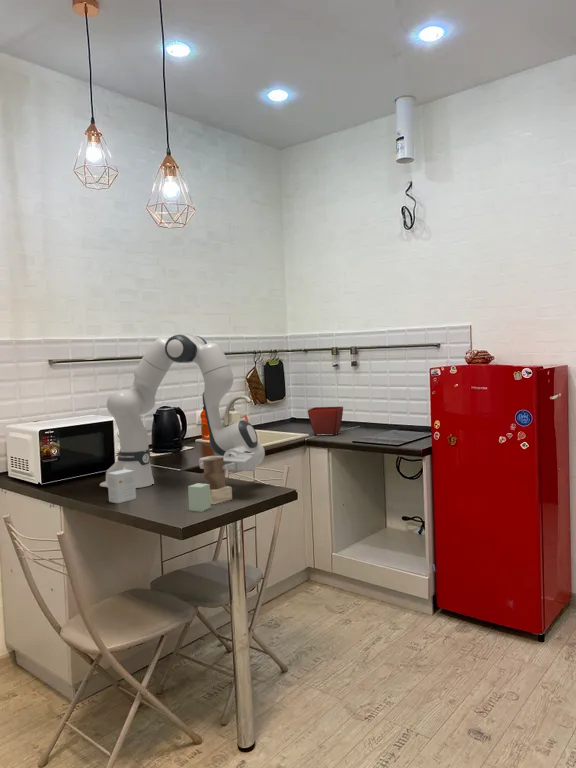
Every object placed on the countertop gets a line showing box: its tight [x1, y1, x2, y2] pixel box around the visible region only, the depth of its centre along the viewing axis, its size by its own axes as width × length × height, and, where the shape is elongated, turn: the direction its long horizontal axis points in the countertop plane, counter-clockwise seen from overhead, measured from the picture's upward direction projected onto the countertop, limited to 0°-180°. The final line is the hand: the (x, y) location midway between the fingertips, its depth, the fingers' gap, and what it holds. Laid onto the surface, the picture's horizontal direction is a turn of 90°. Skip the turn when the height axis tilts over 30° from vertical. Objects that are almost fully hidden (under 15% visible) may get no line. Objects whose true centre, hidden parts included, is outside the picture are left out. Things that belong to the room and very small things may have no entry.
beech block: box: [210, 485, 233, 504], centre depth 203 cm, size 8×8×5 cm
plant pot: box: [307, 406, 344, 435], centre depth 368 cm, size 19×19×17 cm
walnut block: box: [203, 457, 227, 489], centre depth 202 cm, size 5×5×10 cm
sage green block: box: [187, 482, 212, 513], centre depth 192 cm, size 5×5×8 cm
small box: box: [107, 469, 137, 504], centre depth 210 cm, size 8×6×10 cm
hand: (212, 467), depth 201 cm, fingers open, 8 cm apart
